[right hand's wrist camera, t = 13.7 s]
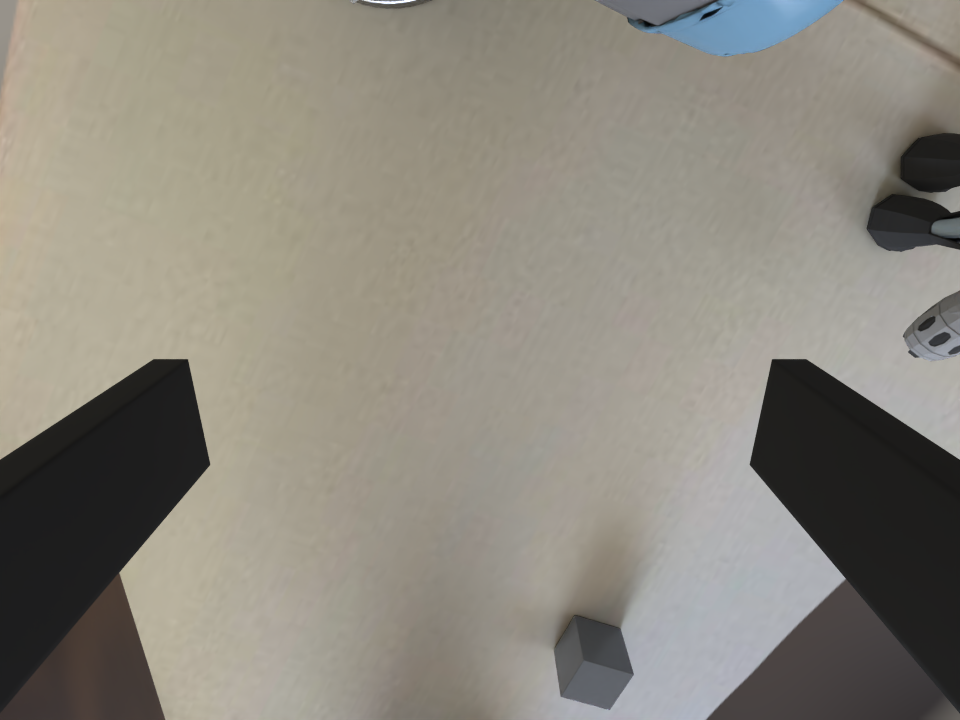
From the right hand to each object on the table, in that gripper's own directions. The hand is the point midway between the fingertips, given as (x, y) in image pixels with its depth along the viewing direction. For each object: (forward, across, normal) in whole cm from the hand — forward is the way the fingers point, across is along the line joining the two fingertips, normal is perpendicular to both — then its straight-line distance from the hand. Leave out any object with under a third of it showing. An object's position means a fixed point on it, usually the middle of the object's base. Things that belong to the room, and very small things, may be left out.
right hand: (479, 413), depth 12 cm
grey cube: (+29, +11, -40) cm, 50 cm away
